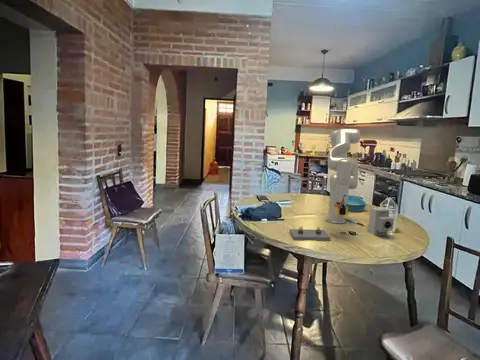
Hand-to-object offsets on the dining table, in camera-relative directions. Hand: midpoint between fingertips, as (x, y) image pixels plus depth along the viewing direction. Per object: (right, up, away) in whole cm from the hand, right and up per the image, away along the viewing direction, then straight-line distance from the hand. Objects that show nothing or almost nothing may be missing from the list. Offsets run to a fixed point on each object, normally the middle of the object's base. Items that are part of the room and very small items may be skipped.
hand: (340, 212), depth 196 cm
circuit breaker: (+25, -14, +7) cm, 30 cm away
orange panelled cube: (0, -1, 0) cm, 1 cm away
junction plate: (-17, -13, 0) cm, 22 cm away
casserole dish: (+28, -3, +76) cm, 81 cm away
